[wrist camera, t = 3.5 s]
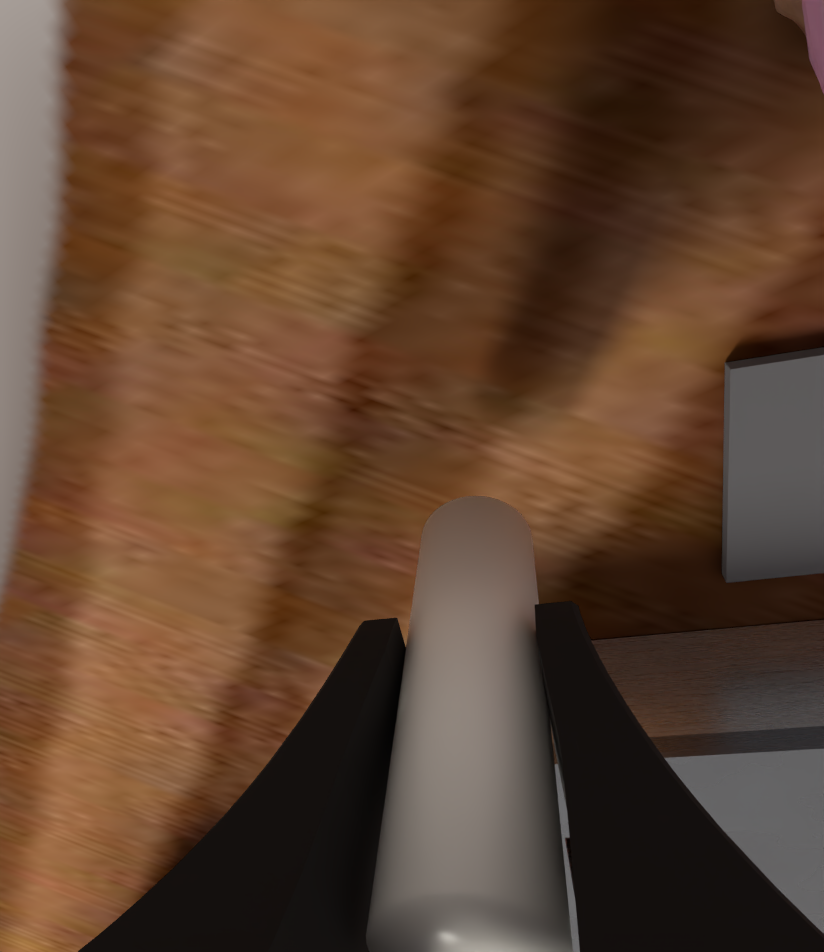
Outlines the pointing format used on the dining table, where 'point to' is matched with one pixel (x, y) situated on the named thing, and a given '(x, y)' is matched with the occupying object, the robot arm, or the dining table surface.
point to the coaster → (773, 467)
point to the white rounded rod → (472, 754)
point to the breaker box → (735, 740)
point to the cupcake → (808, 28)
